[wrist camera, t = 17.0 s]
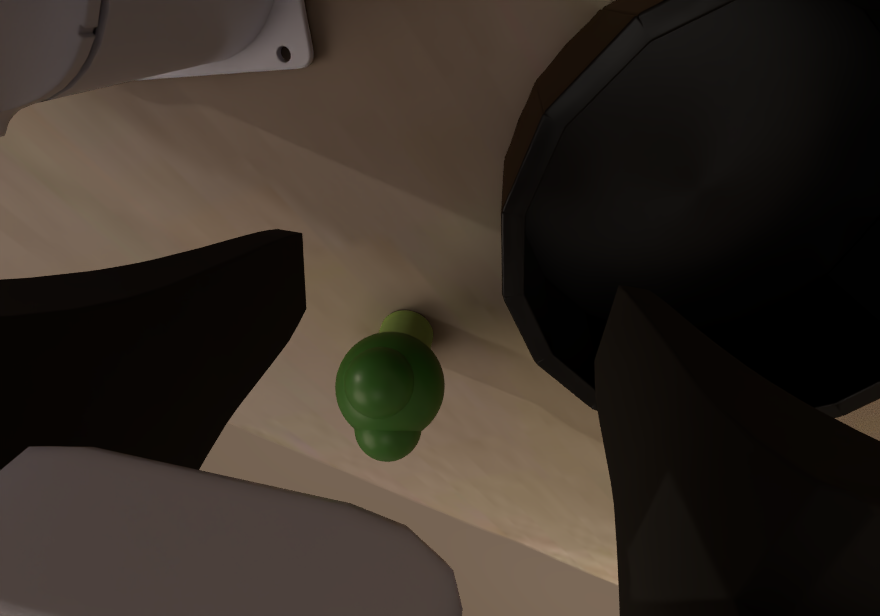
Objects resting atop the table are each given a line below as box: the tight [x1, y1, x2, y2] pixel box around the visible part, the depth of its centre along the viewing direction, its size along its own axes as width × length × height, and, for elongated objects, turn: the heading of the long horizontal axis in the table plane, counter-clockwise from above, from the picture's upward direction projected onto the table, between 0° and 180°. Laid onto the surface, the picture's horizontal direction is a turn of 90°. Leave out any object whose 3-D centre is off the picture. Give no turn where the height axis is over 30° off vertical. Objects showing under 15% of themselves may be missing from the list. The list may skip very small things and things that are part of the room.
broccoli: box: [335, 310, 444, 462], centre depth 22 cm, size 5×5×7 cm
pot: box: [501, 0, 880, 418], centre depth 16 cm, size 14×20×6 cm
